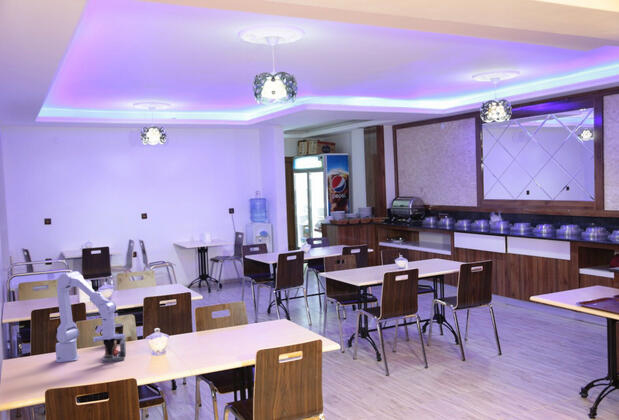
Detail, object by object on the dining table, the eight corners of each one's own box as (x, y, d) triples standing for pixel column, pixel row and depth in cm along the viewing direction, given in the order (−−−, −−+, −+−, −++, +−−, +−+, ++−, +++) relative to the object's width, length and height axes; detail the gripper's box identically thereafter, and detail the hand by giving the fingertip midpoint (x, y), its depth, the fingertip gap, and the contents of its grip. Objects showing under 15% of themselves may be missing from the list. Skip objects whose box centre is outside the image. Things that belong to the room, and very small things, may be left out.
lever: (112, 358, 276) (111, 350, 276) (112, 357, 279) (112, 348, 279) (118, 358, 277) (118, 349, 277) (119, 356, 280) (118, 348, 279)
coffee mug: (127, 341, 315) (126, 323, 314) (120, 345, 306) (119, 327, 306) (107, 341, 316) (105, 323, 315) (99, 345, 307) (98, 327, 307)
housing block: (105, 355, 283) (104, 343, 283) (106, 353, 288) (105, 341, 287) (116, 354, 284) (115, 342, 284) (116, 351, 289) (116, 340, 289)
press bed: (102, 362, 275) (101, 348, 275) (105, 354, 289) (104, 341, 289) (124, 360, 278) (123, 346, 278) (126, 352, 291) (125, 339, 291)
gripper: (91, 330, 271) (93, 358, 272) (123, 327, 274) (125, 355, 275) (93, 327, 278) (95, 354, 278) (124, 324, 281) (126, 351, 282)
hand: (110, 354), depth 277 cm, fingers closed
